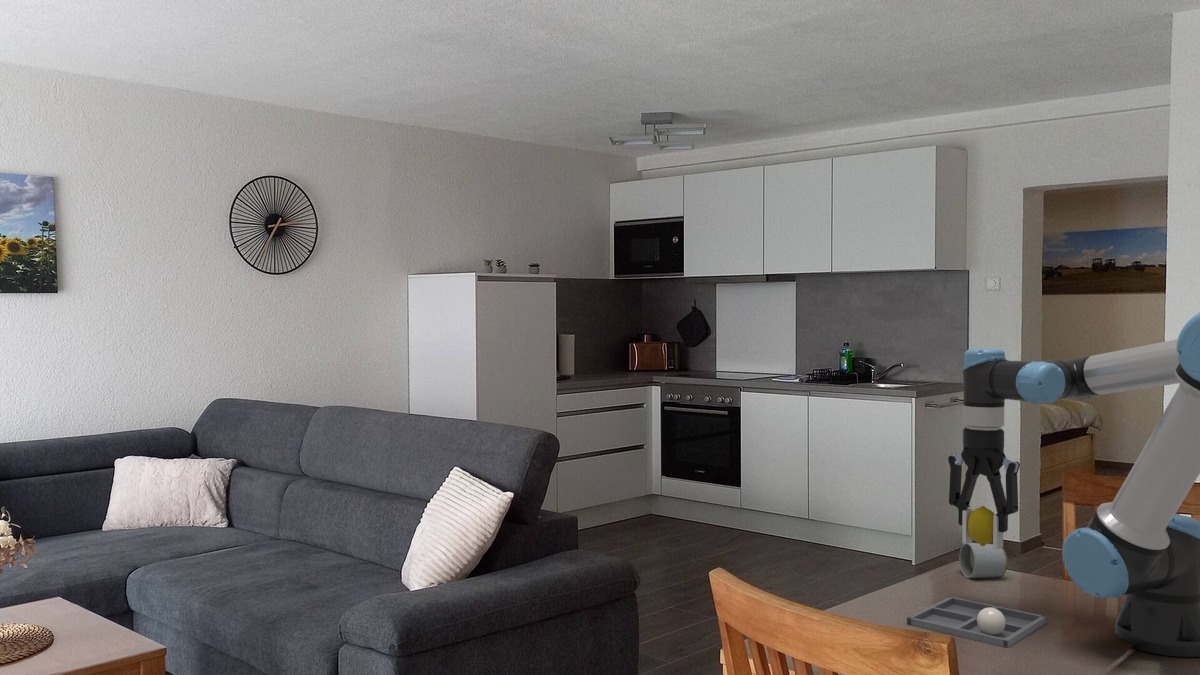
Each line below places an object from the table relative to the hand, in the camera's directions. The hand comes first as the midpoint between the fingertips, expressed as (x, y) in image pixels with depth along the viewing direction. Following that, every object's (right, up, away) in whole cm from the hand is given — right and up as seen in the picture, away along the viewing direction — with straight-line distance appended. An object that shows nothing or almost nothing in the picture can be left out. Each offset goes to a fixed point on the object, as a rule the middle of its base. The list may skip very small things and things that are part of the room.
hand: (982, 545), depth 189 cm
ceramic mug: (+9, -13, +26) cm, 30 cm away
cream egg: (-5, -12, -17) cm, 22 cm away
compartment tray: (-5, -13, -11) cm, 18 cm away
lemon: (0, -1, 0) cm, 1 cm away
